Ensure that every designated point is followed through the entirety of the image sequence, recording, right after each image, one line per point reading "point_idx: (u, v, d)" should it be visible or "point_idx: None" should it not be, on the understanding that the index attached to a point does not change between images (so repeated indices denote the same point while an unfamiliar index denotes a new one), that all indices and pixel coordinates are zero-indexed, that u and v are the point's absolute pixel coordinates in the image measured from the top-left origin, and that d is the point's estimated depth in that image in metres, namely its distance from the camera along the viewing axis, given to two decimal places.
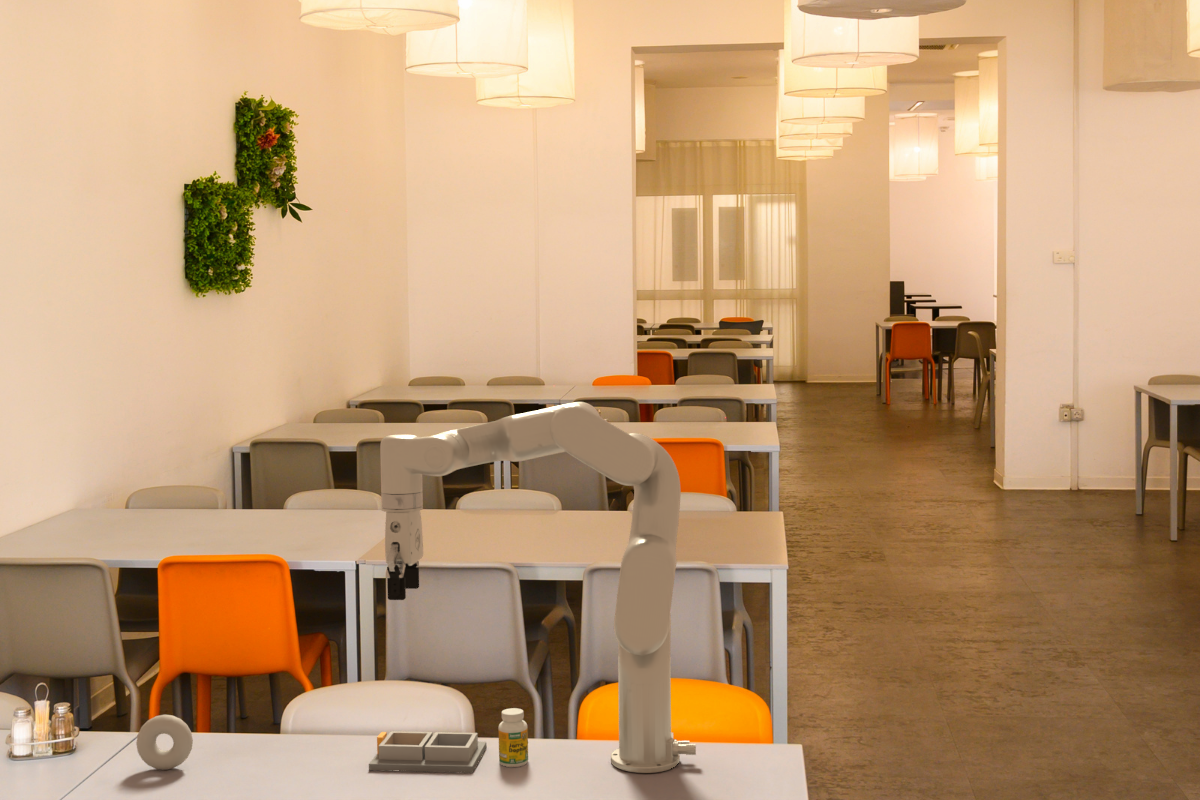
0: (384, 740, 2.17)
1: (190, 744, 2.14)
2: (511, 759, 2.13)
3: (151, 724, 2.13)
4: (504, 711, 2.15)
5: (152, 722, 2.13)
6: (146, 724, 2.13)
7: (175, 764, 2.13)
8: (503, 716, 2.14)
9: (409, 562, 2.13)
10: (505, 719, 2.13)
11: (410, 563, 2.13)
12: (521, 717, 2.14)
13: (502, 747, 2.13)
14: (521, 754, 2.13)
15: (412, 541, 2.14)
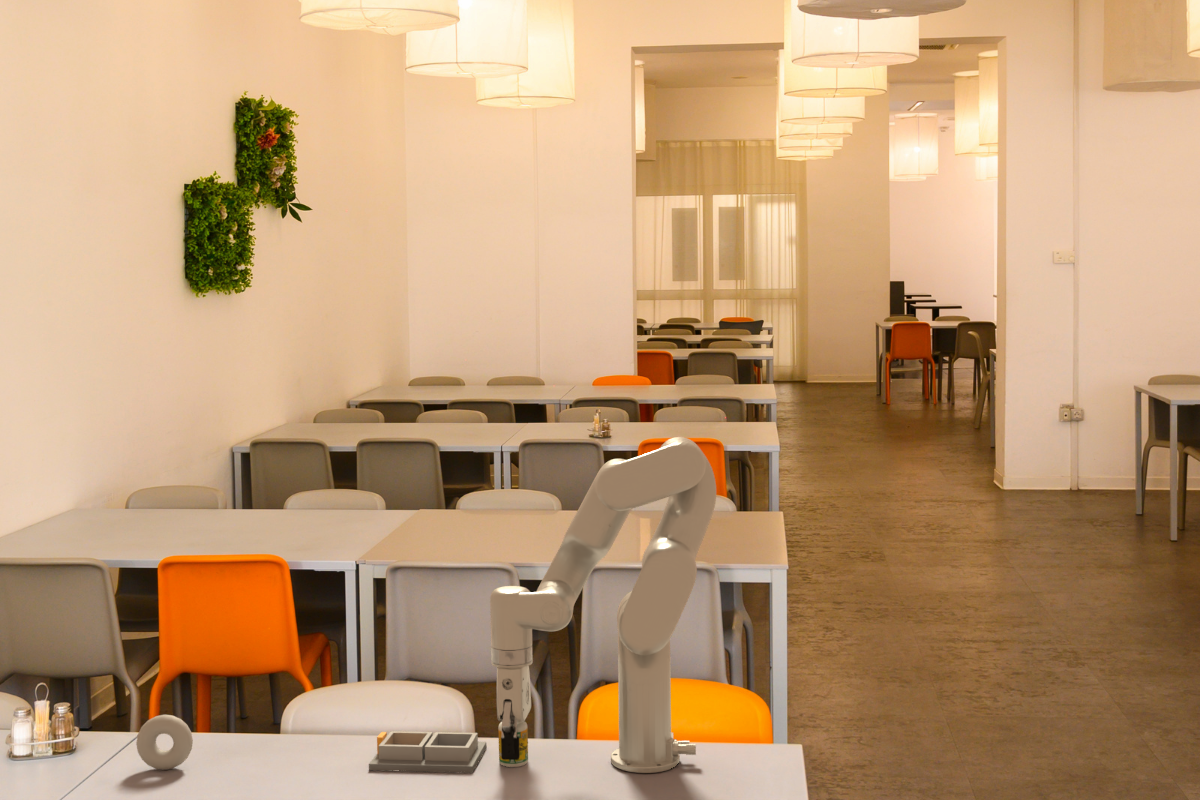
0: (384, 740, 2.17)
1: (190, 744, 2.14)
2: None
3: (151, 724, 2.13)
4: None
5: (152, 722, 2.13)
6: (146, 724, 2.13)
7: (175, 764, 2.13)
8: None
9: (522, 719, 2.10)
10: None
11: (522, 720, 2.10)
12: None
13: None
14: (520, 754, 2.13)
15: (524, 697, 2.11)
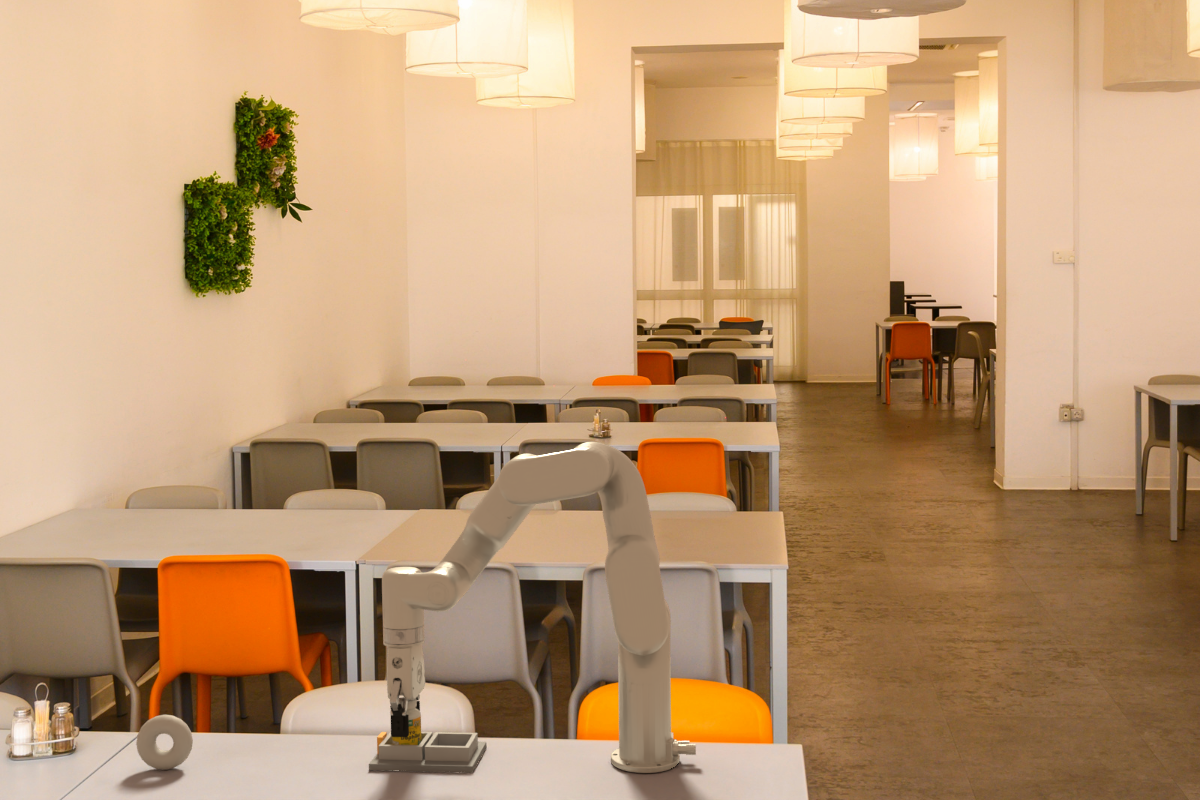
0: (384, 740, 2.17)
1: (190, 744, 2.14)
2: None
3: (151, 724, 2.13)
4: None
5: (152, 722, 2.13)
6: (146, 724, 2.13)
7: (175, 764, 2.13)
8: None
9: (411, 698, 2.13)
10: None
11: (412, 698, 2.13)
12: (413, 705, 2.17)
13: None
14: (413, 742, 2.16)
15: (414, 676, 2.14)
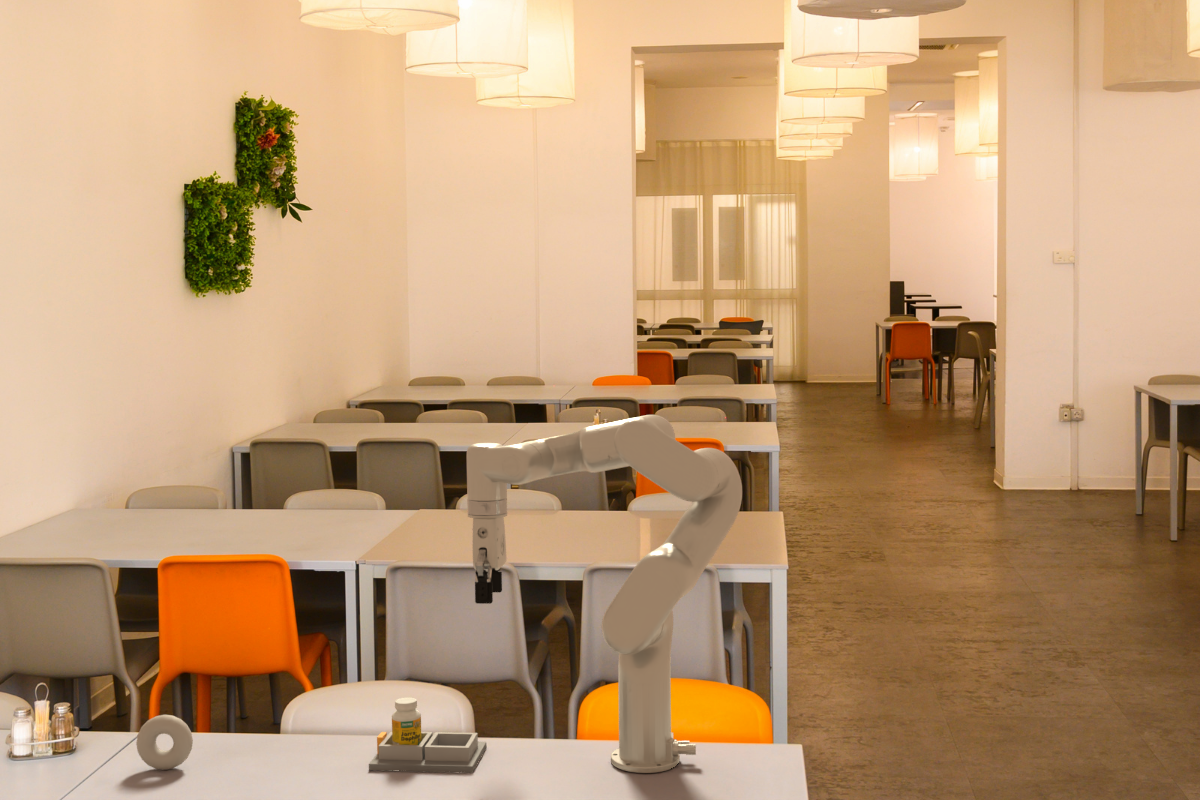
0: (384, 740, 2.17)
1: (190, 744, 2.14)
2: None
3: (151, 724, 2.13)
4: (397, 700, 2.18)
5: (152, 722, 2.13)
6: (146, 724, 2.13)
7: (175, 764, 2.13)
8: (396, 705, 2.17)
9: (496, 567, 2.19)
10: (398, 708, 2.16)
11: (497, 568, 2.20)
12: (414, 706, 2.17)
13: (395, 735, 2.16)
14: (413, 743, 2.16)
15: (498, 547, 2.20)
